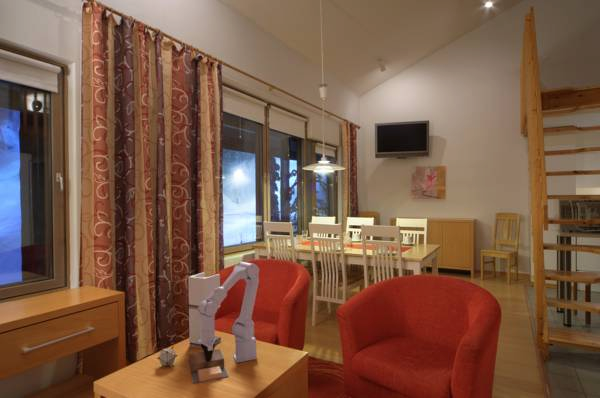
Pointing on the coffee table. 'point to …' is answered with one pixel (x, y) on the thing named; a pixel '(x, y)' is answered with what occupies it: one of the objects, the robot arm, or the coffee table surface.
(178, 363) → the coffee table surface
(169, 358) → the grey spiky polyhedron
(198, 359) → the brown flat block
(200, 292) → the tall white column
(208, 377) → the tan rectangular brick
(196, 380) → the mat
